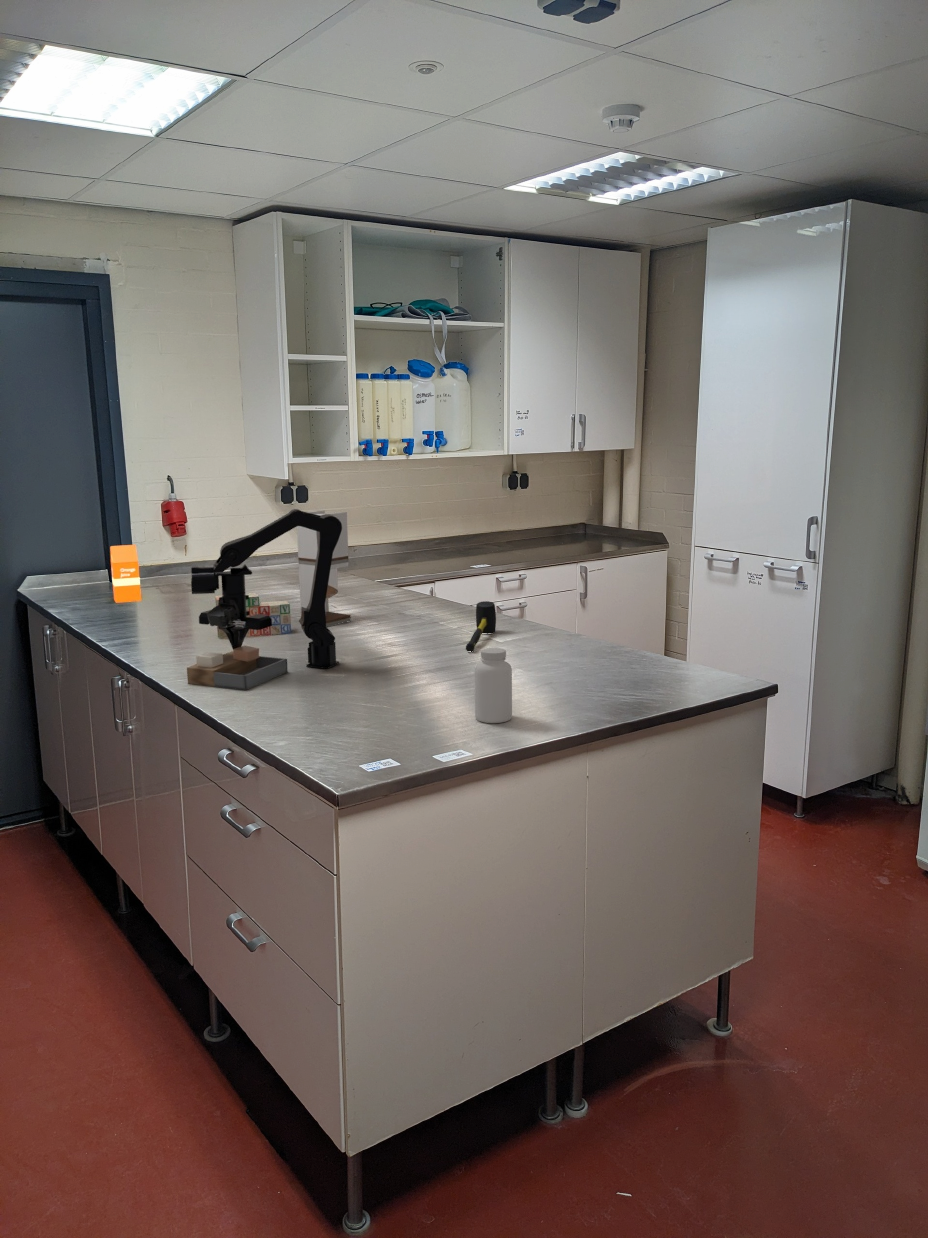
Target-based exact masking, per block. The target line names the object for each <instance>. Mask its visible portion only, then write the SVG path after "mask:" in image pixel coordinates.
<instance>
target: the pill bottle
mask: <svg viewBox="0 0 928 1238" xmlns="http://www.w3.org/2000/svg"><path fill="white" fill-rule="evenodd" d="M506 658H507V651H506V649H504V648H502V647H486V648H483V649H481V650H480V661H479V662H477V663H476V665H475V667H474V671H473V672H474V716H475V720H477V721H478V722H480V723H487V724H500V723H505V722H509V721H510V720H511V719H512V716H513V668H512V666H511V664H510V663H509V662H508V661H505V660H507V659H506Z"/></svg>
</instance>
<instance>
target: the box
mask: <svg viewBox="0 0 928 1238" xmlns="http://www.w3.org/2000/svg"><path fill="white" fill-rule="evenodd" d="M256 664H257V668H254V669H252V670H249V671H247V672H245V673H242V674H240V675H237V674H228V673H219V672H214V685H215V687H216V688H221V689H222V688H223V689H224V688H225V689H233V690H238V691H239V690H241V691H247V690H250V689H252V688H254V687H256V686H259V685H261V684H264V683H266V682H268V681H270V680H273V679H274V678H277V677H281V676H282V675H284V674H287V673H289V672H288V670H289V669H288V658H282V657H275V656H274V657H273V656H264V655H263V656H262V655H259V658H257V659H256ZM215 687H214V688H215Z"/></svg>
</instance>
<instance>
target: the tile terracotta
mask: <svg viewBox="0 0 928 1238" xmlns="http://www.w3.org/2000/svg"><path fill="white" fill-rule="evenodd" d="M232 651H233V659H237V660H242V661H247V662H248V661H251V660H254V659H257V658H259V656H260V648H258V647H254V646H248V645H242V646H241V647H238V648H235V649H233V648H232Z"/></svg>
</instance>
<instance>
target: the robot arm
mask: <svg viewBox="0 0 928 1238" xmlns="http://www.w3.org/2000/svg"><path fill="white" fill-rule="evenodd" d="M307 512H308V511H302V510H300V509H297V508H294V509H291V510H289V512H288V513H285V514H284V515H282V516H281V517H279V518H277V519H275V520H274V521H272V522H270V523H269V524H267V525H265V526H263V527H261V528H259V529H258V530H256V531H254V532H252V533H250V534H248V535H245V536H242V537H238V538H236V539H233V540H229V541H227V542H225V543H224V544H222V546H221V548H220V549H219V557H218V558H217V560H216V561H215V562H214V563H213V565H212V566H192V567H190V571H191V579H190V583H191V584H190V586H191V595H206V594H208V595H209V594H216V591H217V590H220V583H219V582H220V580H219V577H221V596H222V597H219V603H218V606H216V605H215V606H214V607H213V608H212V609H209V610H206V611H202V612H200V613H199V616H198V623H199V625H206V626H207V625H210V626H211V627H217V626H218V629H221V630H222V631H224V632H225V633H226V635H227V637H228V640H229V643H230V646H231V648H232V650H233V649H235V648H238V647H242V646H243V642H244V641H245V639H246V637H245V636H246V634H247V632H248V631H249V629H252V630H261V629H264V628H267V627H270V626H272V619H271V617H270V616H269V615H262V614H257V615H253V616H250V617H246V616H248V615H250V614H249V611H246V600H247V599H249V595H246V594H247V593H246V577H245V576H246V575H247V576H251V575H253V570H252V569H250V568H249V567H248V566H247V564H243V563H244V562H245V561H246V560H248V558H250V557H251V556H253V554H254V553H255V552H257V550H258V549H260V548H262V547H264V546H265V545H267V544H268V543H271V542H272V541H274V540H276V539H278V538H279V537H281V536H282V535H284V534H287V533H288V532H290V531H291V530H293V529H295V528H297V526H301V527H305V528H308V529H311V530H314V531H316V534H317V547H318V550H317V557H316V563H315V570H314V576H313V583H312V589H311V596H310V601H309V604H308V606H307V608H304V607H301V606H300V619H299V620H298V622H299V624H300V626H301V629H302V631H303V633H304V635H305V636H306V638H308V639H310V640H311V641H309V642H308V647H307V662H308V663H307V664H306V667H307V668H315V669H316V668H317V669H330V668H332V667H334V666H337V665H338V664H340V661H338V660H337V652H336V651H337V650H336V648H337V647H336V637H335V635H334V634H333V633H332V631H331V629H329V628H328V627H326V612H325V601H326V595H327V588H328V582H329V575H330V569H331V562H332V556H333V551H334V549H335V547H336V545H337V543H338V540H339V537H340V534H341V531H342V524H341V522H340V521H339V519H337V518H336V517H335V516H333V515H330V513H325V515H322V516H319V515H316V514H311V513H307ZM241 564H243V565H242V566H241V567H239V566H240V565H241ZM228 569H229V570H228ZM226 570H228V571H226ZM238 619H239V620H238Z"/></svg>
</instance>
